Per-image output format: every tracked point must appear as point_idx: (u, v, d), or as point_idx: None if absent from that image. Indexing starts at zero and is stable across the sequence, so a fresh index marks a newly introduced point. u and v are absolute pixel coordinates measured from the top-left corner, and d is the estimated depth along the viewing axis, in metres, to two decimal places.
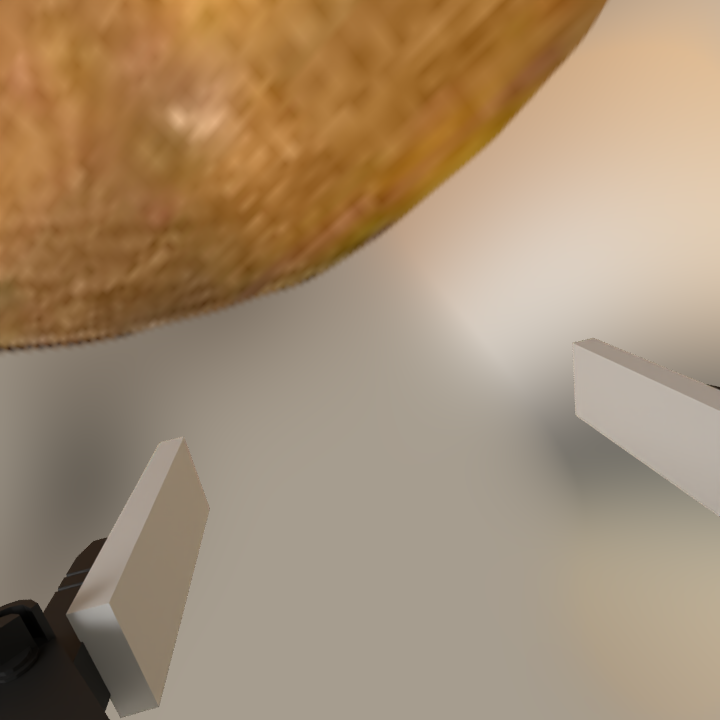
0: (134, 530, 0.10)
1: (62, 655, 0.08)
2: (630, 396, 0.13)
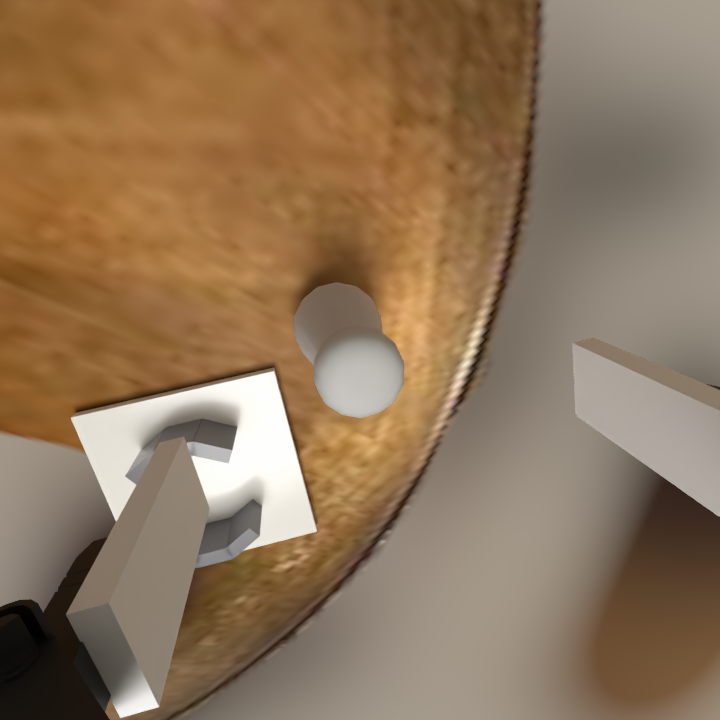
0: (134, 530, 0.10)
1: (62, 655, 0.08)
2: (631, 396, 0.13)
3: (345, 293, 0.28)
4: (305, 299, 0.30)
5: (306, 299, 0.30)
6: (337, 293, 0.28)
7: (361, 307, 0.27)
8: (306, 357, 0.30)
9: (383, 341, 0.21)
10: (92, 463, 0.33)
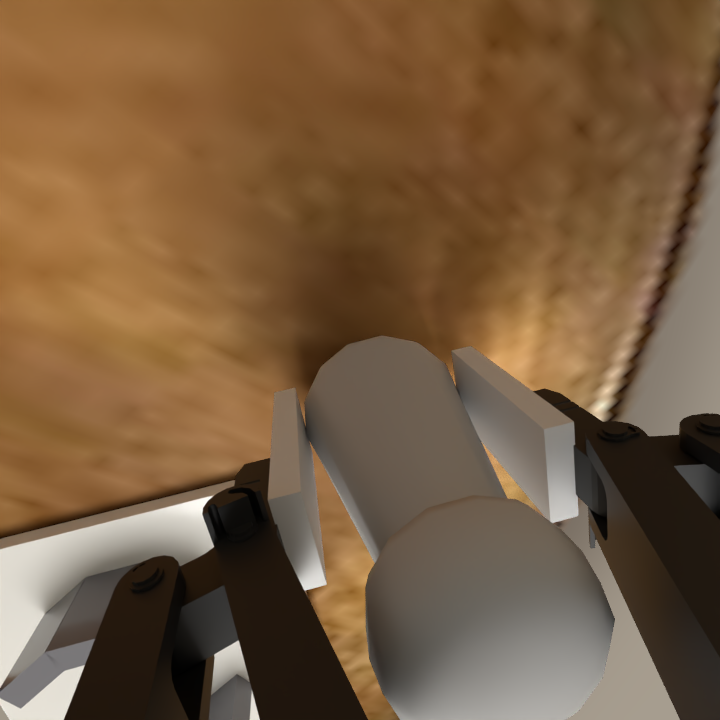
0: (291, 448, 0.12)
1: (273, 534, 0.09)
2: (484, 399, 0.15)
3: (405, 363, 0.15)
4: (326, 370, 0.16)
5: (328, 370, 0.16)
6: (389, 364, 0.15)
7: (445, 402, 0.13)
8: (328, 474, 0.16)
9: (571, 571, 0.07)
10: None
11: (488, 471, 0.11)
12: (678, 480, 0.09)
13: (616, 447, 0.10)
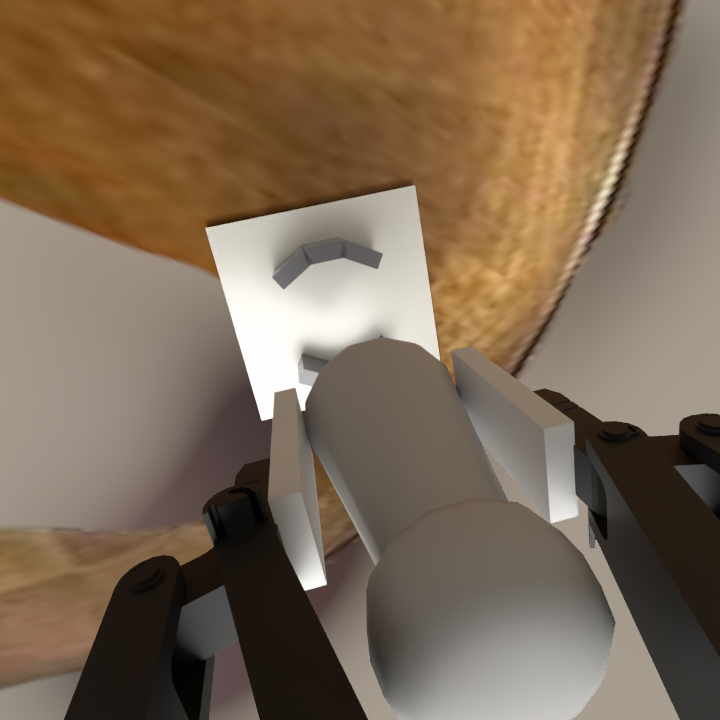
0: (291, 448, 0.12)
1: (273, 534, 0.09)
2: (483, 399, 0.15)
3: (406, 365, 0.15)
4: (327, 372, 0.16)
5: (328, 371, 0.16)
6: (390, 366, 0.15)
7: (446, 404, 0.13)
8: None
9: (572, 575, 0.07)
10: (223, 283, 0.31)
11: (489, 473, 0.11)
12: (678, 480, 0.09)
13: (616, 447, 0.10)
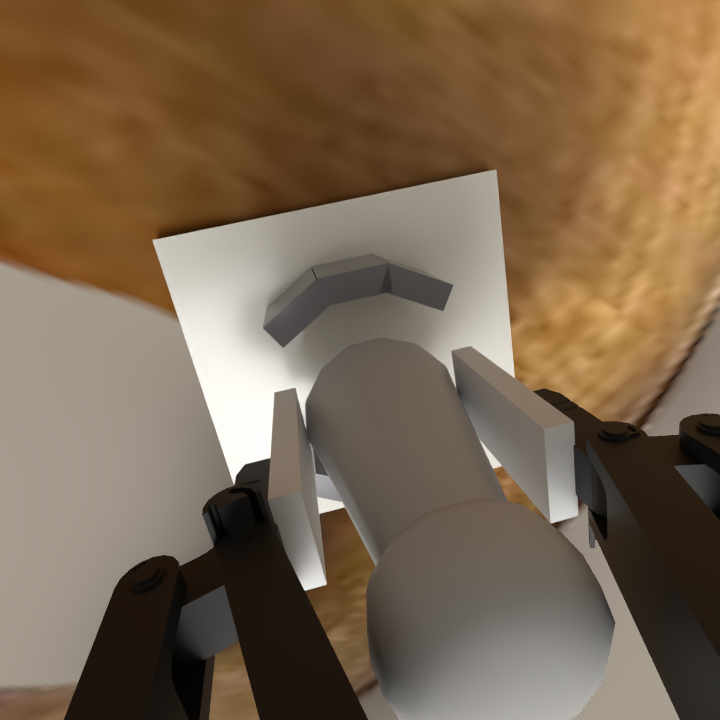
0: (292, 448, 0.12)
1: (273, 534, 0.09)
2: (483, 399, 0.15)
3: (406, 366, 0.15)
4: (327, 372, 0.16)
5: (328, 372, 0.16)
6: (390, 366, 0.15)
7: (446, 405, 0.13)
8: (329, 476, 0.16)
9: (572, 575, 0.07)
10: (185, 329, 0.19)
11: (488, 474, 0.11)
12: (678, 480, 0.09)
13: (616, 447, 0.10)
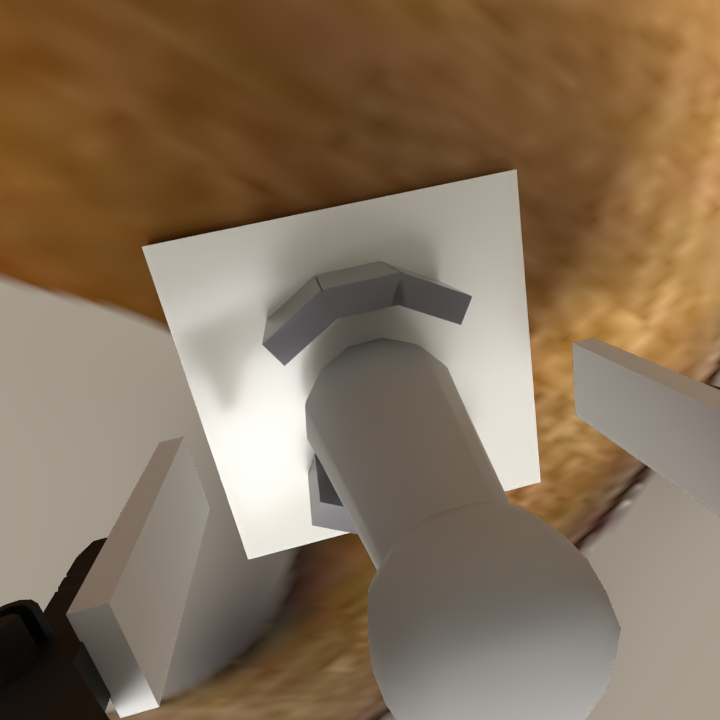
0: (134, 530, 0.10)
1: (62, 655, 0.08)
2: (631, 396, 0.13)
3: (407, 367, 0.15)
4: (327, 373, 0.16)
5: (328, 372, 0.16)
6: (391, 367, 0.15)
7: (447, 406, 0.13)
8: (329, 478, 0.16)
9: (578, 580, 0.07)
10: (178, 343, 0.18)
11: (491, 476, 0.11)
12: None
13: None
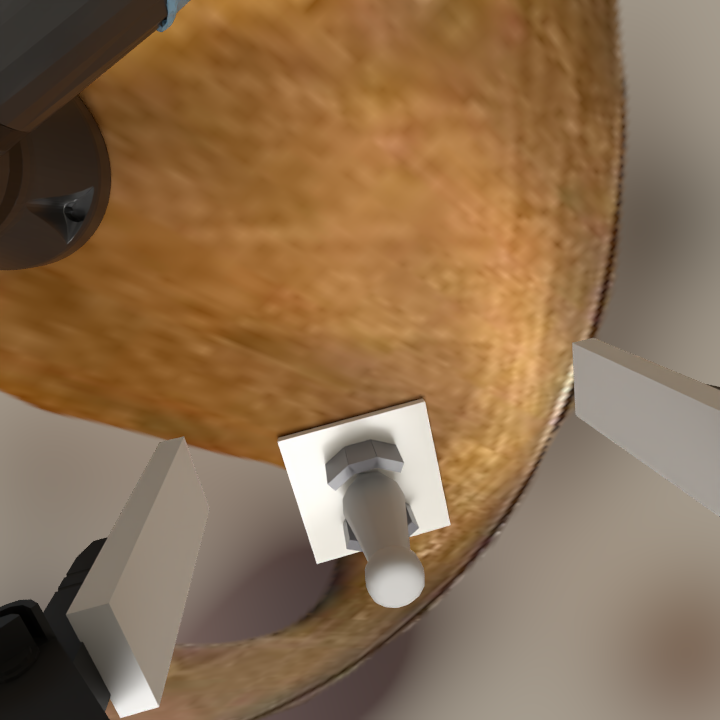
0: (134, 530, 0.10)
1: (62, 655, 0.08)
2: (630, 396, 0.13)
3: (380, 490, 0.40)
4: (351, 490, 0.42)
5: (351, 490, 0.42)
6: (374, 491, 0.40)
7: (392, 509, 0.39)
8: None
9: (410, 563, 0.33)
10: (289, 475, 0.44)
11: (402, 535, 0.37)
12: None
13: None
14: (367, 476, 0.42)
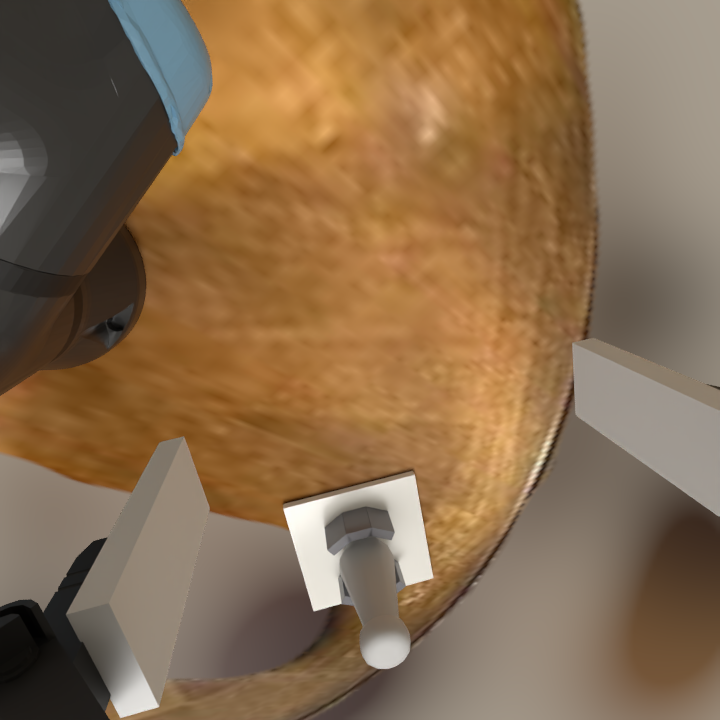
0: (134, 530, 0.10)
1: (62, 655, 0.08)
2: (631, 396, 0.13)
3: (373, 556, 0.46)
4: (347, 554, 0.47)
5: (347, 554, 0.47)
6: (368, 557, 0.46)
7: (383, 575, 0.44)
8: None
9: (399, 633, 0.39)
10: (292, 537, 0.49)
11: (392, 601, 0.42)
12: None
13: None
14: (362, 541, 0.48)
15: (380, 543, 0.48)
